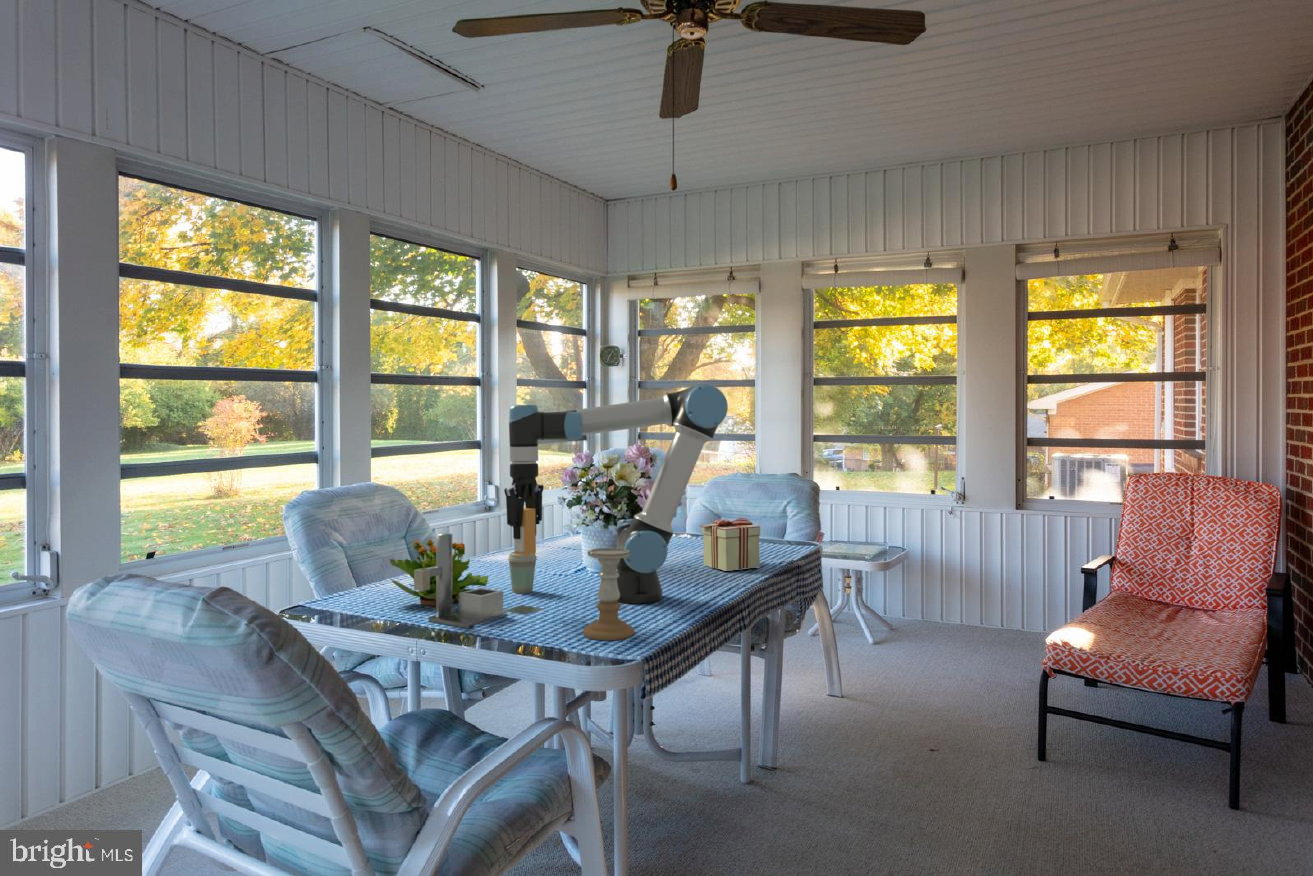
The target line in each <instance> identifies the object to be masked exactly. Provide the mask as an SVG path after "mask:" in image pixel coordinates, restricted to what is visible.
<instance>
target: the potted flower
mask: <svg viewBox="0 0 1313 876" xmlns="http://www.w3.org/2000/svg"><path fill="white" fill-rule="evenodd" d="M424 544H425V545H426V546H427V547H428V548H429V550H428V548H426V547H425V546H424ZM424 544H421V541H415V542H413V543H412V546H413V547H412V549H413V550H416V551H417V552H416V553H417V554H418V556H417V557H416V559H417V560H416V559H413V560H412V561H411V559H408V558H407V559H406V558H405V559H397V560H395V559H394V558H389V563H390V564H391V566H393V567H395V568H398V569H401V570H402V571H403V572H405V573H407V574H408V575H409V576H410V577H411V579H413V582H414V570H416V569H421V568H422V569H424V568H429V567H434V566H436V546H435V545H434V541H433V540H432V539H431V538H429V539H427V541H426V543H424ZM465 545H466V544H465V543H462V542H460V543H457V542H452V550H454V551H453V553H452V604H454V603H455V602H456V601H458V593H461V592H465V591H469V590H473V589H474V588H470V587H469V586H480V587H486V586H487V584H488V579H489V575H482V576H481V575H480V574H477V575H473V573H472V572H469V573H467V575H466V576H465V577H464V578H463V579H460V578H461V577H462V576H463V572H465V571H467V570H468V569H469V568H470V562H471V560H470V558H468V559H466V560H465V561H462V557H463V555H465V554H466V546H465ZM418 560H419V561H418ZM390 581H391V582H392V583H393V584H394V585H396V586H397V587H398V588H400V589H401V590H402V591H404V592H406V593H407V594H409V595H412V596H414V597H417V598H419V601H420V603H421V605H423V606H429V607H430V606H431V607H433V606H434V607H435V606H436V576H433V577H430V590H426V591H418V590H414V589H412V588H409V587H408V586H407V585H405V584H402V583H401V582H399V581H397V580H395V579H390ZM409 585H410V587H414V584H411V583H409Z"/></svg>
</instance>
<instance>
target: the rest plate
mask: <svg viewBox="0 0 1313 876" xmlns="http://www.w3.org/2000/svg"><path fill="white" fill-rule="evenodd" d="M543 610H544V608H543V607H536V606H529V605H523V604H521V605H518V606H514V607H511V608H507V609H503V612H506V613H512V614H513V613H514V614H518V615H523V616H526V615H529V614H533V613H536V612H539V611H543Z"/></svg>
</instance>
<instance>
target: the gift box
mask: <svg viewBox="0 0 1313 876" xmlns="http://www.w3.org/2000/svg"><path fill="white" fill-rule="evenodd" d="M698 527H700V528H701V530H702V531H701V534H702V535H703V536H702V537H703V538H702V539H703V540H702V541H703V547H702V548H703V555H702V556H703V566H704V565H707V566H710V567H712V568H718V569H721V570H724V571H731V570H736V569H742V568H753V567H759V566H760V536H761V526H760V525H754V524H753V523H752V521H750V520H749V519H747V518H746V517H739V518H736V519H734V520H732V521H731V520H729V519H724V518H723V519H722V518H721V519H720V518H719V519H714V520H713V521H712V524H711V523H710V524H702V525H698ZM712 568H711V569H712ZM759 568H760V567H759ZM724 571H723V572H724ZM731 572H732V571H731Z"/></svg>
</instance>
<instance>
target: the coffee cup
mask: <svg viewBox="0 0 1313 876" xmlns="http://www.w3.org/2000/svg"><path fill="white" fill-rule="evenodd" d="M537 558H538V557H537V556H536V553H534V554H530V555H518V554H515V551H512V552H509V554H508V558H507V561H508V565H509V574H510V586H511V591H512V593H513V594H521V595H523V594H529V593H533V589H534V579H535V573H536V572H535V570H536V564H537V563H536V562H537V560H538V559H537Z"/></svg>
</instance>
